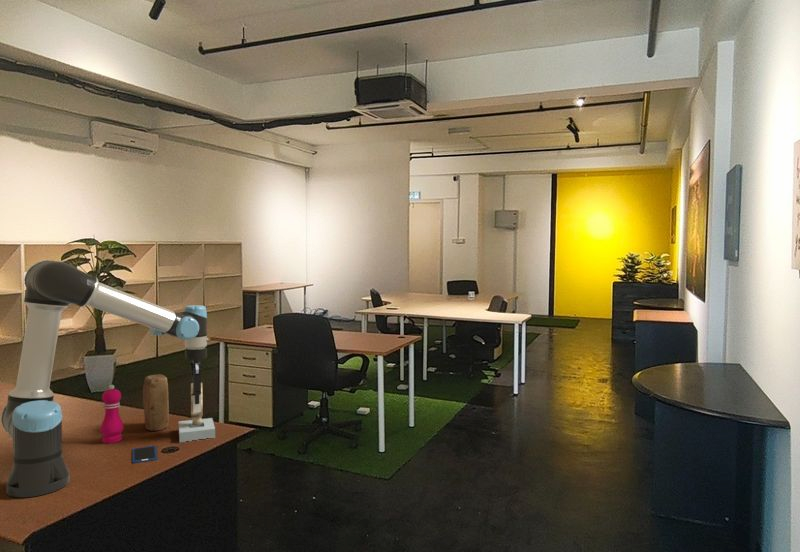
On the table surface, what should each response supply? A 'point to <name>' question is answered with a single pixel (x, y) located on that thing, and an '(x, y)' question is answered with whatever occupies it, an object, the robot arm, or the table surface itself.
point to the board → (196, 430)
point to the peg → (198, 416)
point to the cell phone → (144, 454)
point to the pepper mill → (111, 416)
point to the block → (156, 402)
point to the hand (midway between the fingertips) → (196, 410)
